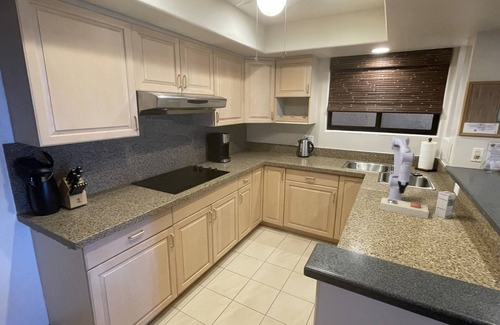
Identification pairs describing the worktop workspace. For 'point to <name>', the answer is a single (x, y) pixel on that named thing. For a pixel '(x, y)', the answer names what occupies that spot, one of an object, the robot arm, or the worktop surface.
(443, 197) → the syrup box
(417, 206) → the red button
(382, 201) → the control box
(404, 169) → the robot arm
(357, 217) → the worktop surface
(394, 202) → the grey button
